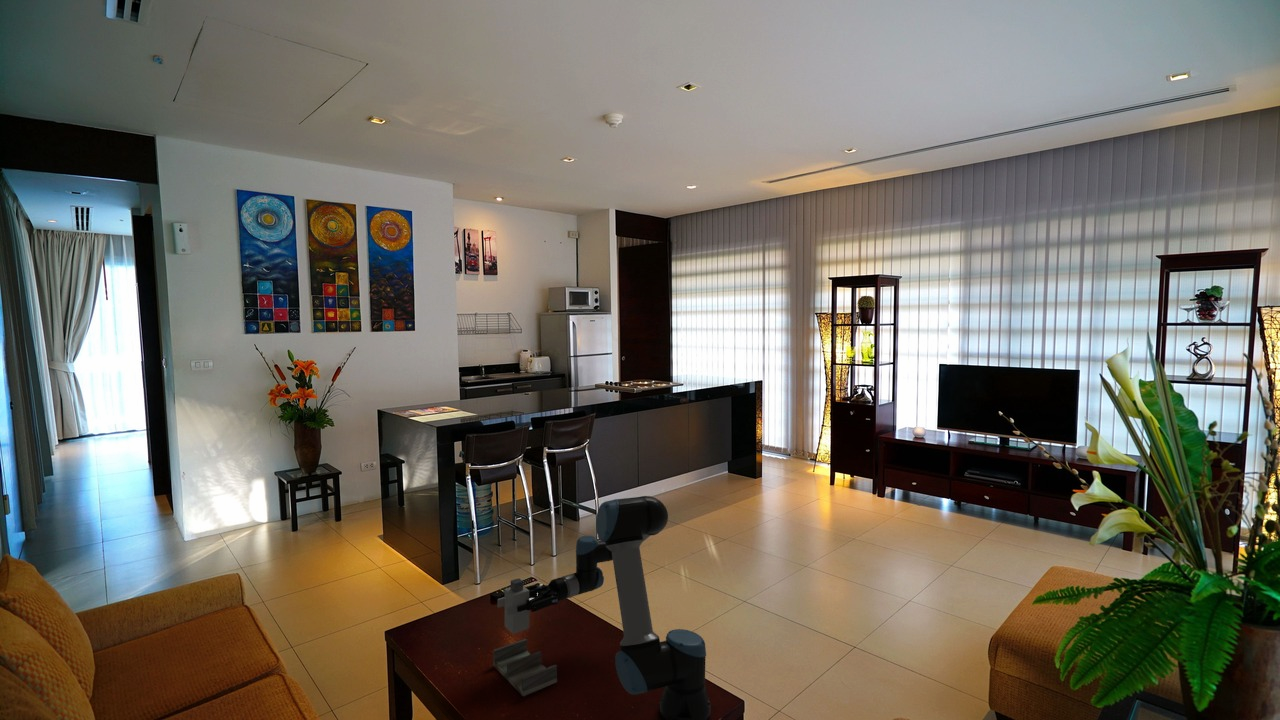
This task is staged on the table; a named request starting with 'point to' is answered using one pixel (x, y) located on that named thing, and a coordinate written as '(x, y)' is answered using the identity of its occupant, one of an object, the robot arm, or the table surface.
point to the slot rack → (523, 668)
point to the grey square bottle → (515, 596)
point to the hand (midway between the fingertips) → (502, 607)
